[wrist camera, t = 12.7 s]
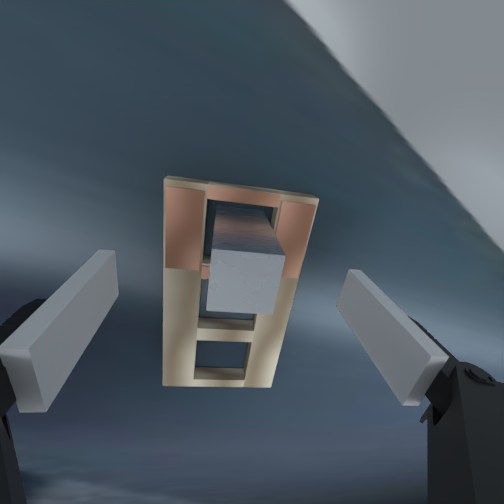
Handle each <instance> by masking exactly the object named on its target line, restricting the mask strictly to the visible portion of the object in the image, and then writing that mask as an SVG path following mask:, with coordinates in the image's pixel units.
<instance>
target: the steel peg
mask: <svg viewBox="0 0 504 504" xmlns="http://www.w3.org/2000/svg"><path fill="white" fill-rule="evenodd" d="M285 257H286V255H285V253H284V251H283V249H282V247H281V245H280V243H279V241H278V239H277V237H276V235H275V233H274V231H273V229H272V227H271V225H270V223H269V221H268V219H267V217H266V215H265V213H264V211H263V210H255V209H247V208H238V207H230V206H222V205H217V207H216V215H215V224H214V233H213V242H212V251H211V262H210V273H209V284H208V295H207V306H206V311H218V312H235V313H252V314H270V315H273V311H274V306H275V302H276V297H277V293H278V288H279V284H280V279H281V275H282V271H283V266H284V262H285Z"/></svg>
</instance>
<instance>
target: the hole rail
mask: <svg viewBox="0 0 504 504" xmlns="http://www.w3.org/2000/svg"><path fill="white" fill-rule="evenodd" d="M208 199H212V200H220V201H228V202H237V203H245V204H253V205H261V206H269V207H273V213H272V218H271V224H270V225H271V227H272V229H273V231H274V233H275V235H276V237H277V239H278V241H279V243H280V245H281V247H282V249H283V251H284V253H285V255H286V257H285V262H284V266H283V271H282V275H281V279H280V284H279V288H278V293H277V297H276V302H275V306H274V311H273V315H270V314H254V315H253V320H237V319H218V318H199V308H200V295H201V282H202V279H209V273H210V262H211V256H204V243H205V230H206V217H207V204H208ZM318 202H319V198H317V197H316V196H314V195H313V194H305V193H298V192H290V191H283V190H275V189H268V188H260V187H252V186H245V185H237V184H230V183H222V182H215V181H207V180H200V179H192V178H185V177H177V176H170V175H168V176H166V177H165V178H164V223H163V386H198V387H271V385H272V381H273V377H274V373H275V369H276V365H277V361H278V357H279V354H280V350H281V346H282V342H283V338H284V334H285V330H286V326H287V322H288V319H289V315H290V311H291V307H292V303H293V299H294V295H295V291H296V288H297V284H298V280H299V276H300V272H301V268H302V264H303V260H304V256H305V253H306V249H307V245H308V241H309V237H310V233H311V229H312V225H313V221H314V218H315V214H316V210H317V206H318ZM197 340H207V341H232V342H248V347H247V353H246V358H245V364H244V368H209V367H195V361H196V347H197Z"/></svg>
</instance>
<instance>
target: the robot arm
mask: <svg viewBox="0 0 504 504" xmlns="http://www.w3.org/2000/svg"><path fill="white" fill-rule="evenodd" d="M118 296H119V290H118V277H117V265H116V252H115V250H104V249H99V250H98V251H97V252H96V253H95V254H94V255H93V256H92V257H91V258H90V259H89V260H88V261H87V262H86V263H84V264H83V265H82V266H81V267H80V268H79V269H78V270H77V271H76V272H75V273H74V274H73V275H72V276H71V277H70V278H69V279H68V280H67V281H66V282H65V283H64V284H63V285H62V286H61V287H60V288H59V289H58V290H57V291H56V292H55V293H54V294H53V295H52V296H51V297H49V298H48V299H36V300H34V301H32V302H30V303H28V304H26V305H24V306H22V307H21V308H20V309H19V310H18V311H16V312H15V313H14V314H13V315H12V316H11V318H9V319H7V320H6V321H5V322H4V323H3V324H2V326H0V504H27V503H26V498H25V494H24V489H23V485H22V480H21V476H20V471H19V466H18V462H17V457H16V453H15V448H14V444H13V439H12V434H11V430H10V425H9V421H8V417H7V415H6V412H7V411H8V410H9V409H10V407H11V406H12V405H13V403H14V402H15V401H16V404H17V406H18V409H19V412H20V413H23V412H47V410H48V409H49V407H50V405H51V404H52V402H53V400H54V399H55V397H56V396H57V394H58V392H59V391H60V389H61V388H62V386H63V384H64V383H65V381H66V379H67V378H68V376H69V375H70V373H71V371H72V370H73V368H74V367H75V365H76V363H77V362H78V360H79V358H80V357H81V355H82V354H83V352H84V350H85V349H86V347H87V346H88V344H89V342H90V341H91V339H92V337H93V336H94V334H95V333H96V331H97V329H98V328H99V326H100V325H101V323H102V321H103V320H104V318H105V316H106V315H107V313H108V312H109V310H110V308H111V307H112V305H113V304H114V302H115V300H116V299H117V297H118ZM336 307H337V309H338V310H339V312H340V313H341V315H342V316H343V318H344V319H345V321H346V322H347V324H348V325H349V327H350V328H351V330H352V331H353V333H354V334H355V336H356V337H357V339H358V340H359V342H360V343H361V345H362V346H363V348H364V349H365V351H366V352H367V354H368V355H369V357H370V358H371V360H372V361H373V363H374V364H375V366H376V367H377V369H378V370H379V372H380V373H381V375H382V376H383V378H384V379H385V380H386V382H387V383H388V385H389V386H390V388H391V389H392V391H393V392H394V394H395V395H396V397H397V398H398V400H399V401H400V403H401V404H402V406H413V405H419V404H420V402H421V401H422V399H423V398H424V396H425V395H426V397H427V398H428V399H429V401H430V402H431V404H430V405H429V407H428V408H427V410H426V411H425V413H424V414H423V416H422V417H421V419H420V422H421V423H423V422H424V421H425V420H426V419H428V425H427V426H428V504H504V383H500V382H497V381H496V380H495V379H494V378H493V377H492V376H491V375H490V374H488V373H487V372H485V371H484V370H483V369H481V368H479V367H477V366H475V365H473V364H470V363H467V362H459V361H458V360H457V359H456V358H455V357H454V356H453V355H452V354H451V353H450V352H449V351H448V350H447V349H446V348H444V347H443V346H442V345H441V344H440V343H439V342H438V341H437V340H436V339H434V337H433V336H432V335H431V334H430V333H429V332H427V330H426V329H425V328H424V327H423V326H421V325H420V324H419V323H418V322H417V321H415V320H413V319H412V318H410V317H409V316H407V315H406V314H405V313H404V312H403V311H402V310H401V309H400V308H399V307H398V306H397V305H396V304H395V303H394V302H393V301H392V300H391V299H389V298H388V297H387V296H386V295H385V294H384V293H383V292H382V291H381V290H380V289H379V288H378V287H377V286H376V285H375V284H374V283H373V282H372V281H371V280H370V279H369V278H368V277H367V276H366V275H365V274H364V273H363V272H362V271H361V270H354V269H349V270H348V273H347V276H346V278H345V281H344V284H343V287H342V290H341V293H340V296H339V299H338V302H337V305H336Z"/></svg>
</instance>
